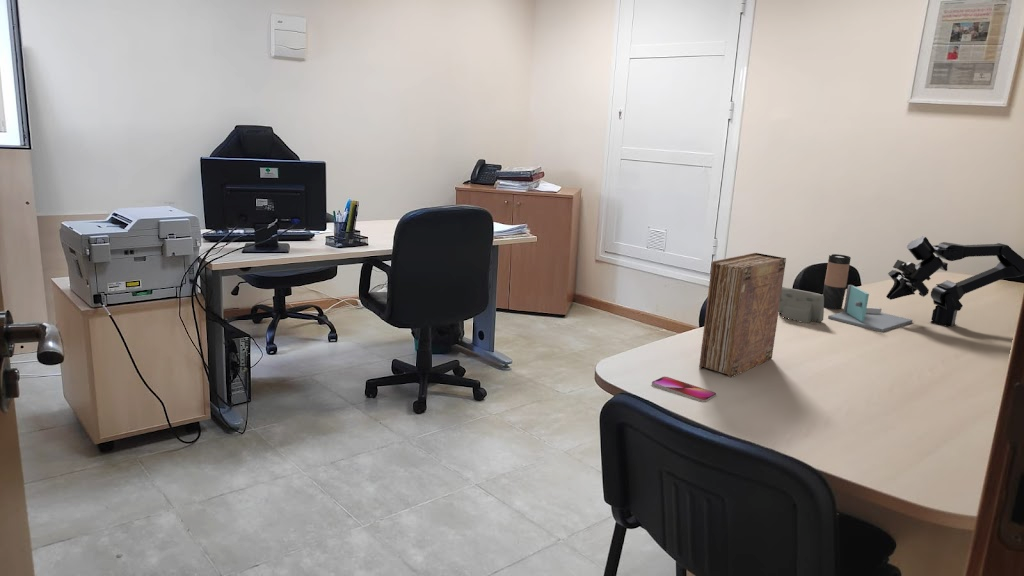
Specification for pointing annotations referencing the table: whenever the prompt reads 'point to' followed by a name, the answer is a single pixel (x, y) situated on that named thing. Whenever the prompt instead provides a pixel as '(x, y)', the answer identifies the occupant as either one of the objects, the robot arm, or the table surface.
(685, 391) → the smartphone
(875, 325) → the base board
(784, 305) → the digital clock
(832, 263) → the travel mug
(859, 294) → the door
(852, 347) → the table surface
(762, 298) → the book
